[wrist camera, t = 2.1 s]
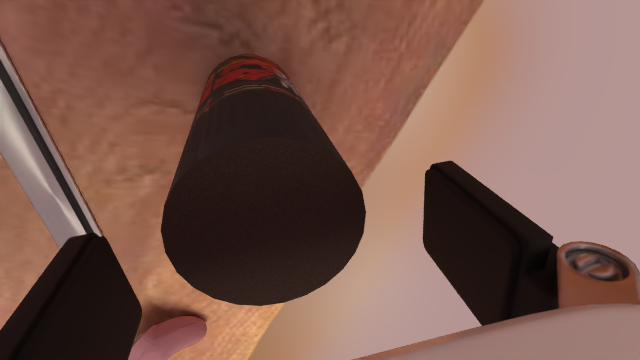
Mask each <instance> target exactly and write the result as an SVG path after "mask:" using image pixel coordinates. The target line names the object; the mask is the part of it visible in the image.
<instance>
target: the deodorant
mask: <svg viewBox="0 0 640 360" xmlns="http://www.w3.org/2000/svg"><path fill="white" fill-rule="evenodd" d="M365 215H366V210H365V205H364V199H363V193H362V190H361V188H360V187H359V185H358V183H357V181H356V179H355V177H354V175H353V174H352V172H351V170H350V169H349V167H348V166H347V164H346V163H345V161H344V160H343V158H342V157H341V155H340V154H339V152H338V151H337V149H336V148H335V146H334V145H333V143H332V142H331V141H330V139H329V138H328V136H327V135H326V133H325V132H324V130H323V129H322V127H321V126H320V124H319V123H318V121H317V120H316V118H315V117H314V115H313V114H312V112H311V111H310V109H309V108H308V106H307V105H306V103H305V102H304V100H303V99H302V97H301V96H300V94H299V93H298V91H297V90H296V88H295V87H294V85H293V84H292V82H291V81H290V79H289V78H288V76H287V75H286V73H285V72H284V71H283V70H282V69H281V68H280V67H279V66H278V65H277V64H275V63H274V62H272V61H270V60H269V59H267V58H264V57H261V56H257V55H238V56H235V57H231V58H229V59H227V60H225V61H224V62H222V63H220V64H219V65H218V66H217V67H216V68H215V69H214V71H213V72H212V73H211V75H210V77H209V79H208V81H207V83H206V85H205V88H204V91H203V94H202V97H201V100H200V103H199V106H198V109H197V112H196V114H195V117H194V120H193V123H192V126H191V129H190V132H189V135H188V138H187V141H186V144H185V147H184V150H183V152H182V155H181V158H180V161H179V164H178V167H177V170H176V173H175V176H174V179H173V182H172V185H171V188H170V191H169V193H168V196H167V199H166V202H165V205H164V211H163V218H162V225H161V233H162V238H163V243H164V248H165V253H166V255H167V256H168V258H169V260H170V261H171V263H172V265H173V266H174V268H175V270H176V271H177V273H178V274H179V275H181V276H182V277H183V278H184V279H185V280H186V281H187V282H188V283H189V284H190V285H191V286H192V287H194V288H195V289H197V290H199V291H201V292H203V293H205V294H207V295H209V296H210V297H212V298H214V299H218V300H222V301H226V302H229V303H233V304H237V305H256V306H263V305H270V304H277V303H284V302H287V301H290V300H293V299H295V298H299V297H302V296H305V295H307V294H309V293H311V292H312V291H314V290H316V289H318V288H320V287H321V286H323V285H325V284H326V283H327V282H329V281H330V280H331V279H332V278H333V277H334V276H336V275H337V274H338V273H339V272H340V271H341V270H342V269H343V268H344V267H345V266H346V264H347V263H348V262H349V260H350V259H351V258H352V256H353V255H354V254H355V252H356V250H357V247H358V245H359V242H360V240H361V238H362V235H363V233H364V224H365Z"/></svg>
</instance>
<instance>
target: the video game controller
mask: <svg viewBox="0 0 640 360" xmlns="http://www.w3.org/2000/svg"><path fill="white" fill-rule="evenodd" d="M206 331H207V326H206V324H205V322H204V321H203V320H202V319H200V318H197V317H193V316H180V317H176V318H172V319H170V320H167V321H164V322H162V323H160V324H158V325H153V326H152V327H150V328H149V329H148V330H147V331H146V332H145V333H143V334H141V335H139V336H137V334H138V332H137V333H136V336H137V337H136V336H135V340H134V343H133V346H132V349H131V352H130V355H129V358H128V360H167V359H168V358H169V357H170V356H171V355H173V354H175V353H176V352H178V351H180V350H182V349H184V348H186V347H188V346H191V345H193V344H195V343H197V342H198V341H200V340H201V339H202V338H203V337H204V336H205V334H206Z"/></svg>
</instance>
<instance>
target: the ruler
mask: <svg viewBox="0 0 640 360" xmlns="http://www.w3.org/2000/svg"><path fill="white" fill-rule="evenodd" d="M0 153H1V154H2V156H3V158H4V159H5V161H6V163H7V164H8V166H9V167H10V169H11V171H12V172H13V174H14V175H15V177H16V179H17V180H18V182H19V184H20V185H21V187H22V188H23V190H24V192H25V193H26V195H27V196H28V198H29V200H30V201H31V203H32V205H33V206H34V208H35V209H36V211H37V213H38V214H39V216H40V217H41V219H42V221H43V222H44V224H45V226H46V227H47V229H48V230H49V232H50V234H51V235H52V237H53V238H54V240H55V242H56V243H57V245H58V247H59V248H60V249H61V248H62V246H63V245H64V243H65V242H66V241H67V240H68V239H69V238H70V237H74V236H79V235H84V234H89V233H96V234H97V235H99V237H100V236H103V234H102V233H101V231H100V229H99V227H98V225H97V223H96V221H95V219H94V217H93V216H92V214H91V212H90V210H89V208H88V206H87V204H86V202H85V200H84V198H83V197H82V195H81V193H80V191H79V189H78V187H77V185H76V183H75V181H74V180H73V178H72V176H71V174H70V172H69V170H68V168H67V166H66V164H65V162H64V161H63V159H62V157H61V155H60V153H59V151H58V149H57V147H56V145H55V143H54V142H53V140H52V138H51V136H50V134H49V132H48V130H47V128H46V126H45V125H44V123H43V121H42V119H41V117H40V115H39V113H38V111H37V109H36V107H35V106H34V104H33V102H32V100H31V98H30V96H29V94H28V92H27V90H26V89H25V87H24V85H23V83H22V81H21V79H20V77H19V75H18V73H17V71H16V70H15V68H14V66H13V64H12V62H11V60H10V58H9V56H8V54H7V53H6V51H5V49H4V47H3V45H2V43H1V41H0ZM103 237H104V236H103Z"/></svg>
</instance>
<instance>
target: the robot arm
mask: <svg viewBox="0 0 640 360" xmlns="http://www.w3.org/2000/svg"><path fill="white" fill-rule="evenodd" d="M423 223H424V224H423V243H424V247H425V249H426V251H427V253H428V254H429V255H430V257H431V258H432V259H433V261H434V262H435V263H436V265H437V266H438V267H439V269H440V270H441V271H442V273H443V274H444V275H445V276H446V278H447V279H448V281H449V282H450V283H451V285H452V286H453V287H454V289H455V290H456V291H457V293H458V294H459V295H460V297H461V298H462V299H463V301H464V302H465V303H466V305H467V306H468V308H469V309H470V310H471V312H472V313H473V314H474V316H475V317H476V318H477V320H478V321H479V322H480V324H481V325H482V326H480V327H476V328H472V329H468V330H464V331H460V332H456V333H453V334H449V335H445V336H441V337H437V338H434V339H430V340H426V341H422V342H418V343H414V344H411V345H407V346H403V347H399V348H395V349H392V350H388V351H384V352H380V353H376V354H372V355H369V356H365V357H361V358H357V359H353V360H640V272H639V270H638V269H637V267H636V265H635V264H634V263H633V262H632V261H631V260H630V259H629V258H628V257H626V256H625V255H623V254H621V253H620V252H618V251H616V250H613V249H611V248H609V247H606V246H603V245H600V244H596V243H590V242H581V241H580V242H570V243H567V244H564V245H562V246H561V247H560V248H559V247H557V246H556V245H555V244H553V243H552V240H553V236H551V235H550V234H549V233H547V232H546V231H545V230H543V229H542V228H541V227H539V226H538V225H537V224H535V223H534V222H533V221H531V220H530V219H529V218H527V217H526V216H525V215H523V214H522V213H521V212H519V211H518V210H517V209H515V208H514V207H513V206H511V205H510V204H509V203H507V202H506V201H505V200H503V199H502V198H501V197H499V196H498V195H497V194H495V193H494V192H493V191H491V190H490V189H489V188H487V187H486V186H485V185H483V184H482V183H481V182H479V181H478V180H477V179H475V178H474V177H473V176H471V175H470V174H469V173H467V172H466V171H465V170H463V169H462V168H461V167H459V166H458V165H457V164H455V163H454V162H453V161H446V162H440V163H436V164H432V165H431V167H430V169H429V170H427V171H426V173H425V191H424V221H423ZM141 317H142V308H141V305H140V303H139V301H138V299H137V297H136V295H135V293H134V291H133V289H132V287H131V285H130V283H129V281H128V279H127V277H126V275H125V274H124V272H123V270H122V268H121V266H120V264H119V262H118V260H117V258H116V256H115V254H114V252H113V250H112V248H111V246H110V244H109V243H108V241H107V239H106V238H105V237H103V236H100V237H99V235H97V234H96V233H89V234H84V235H79V236H74V237H70V238H69V239H68V240H67V241H66V242H65V243H64V245H63V246H62V248H61V249H60V250H59V252H58V253H57V254H56V256H55V257H54V258H53V260H52V261H51V262H50V264H49V265H48V266H47V268H46V269H45V271H44V272H43V273H42V275H41V276H40V277H39V279H38V280H37V281H36V283H35V284H34V285H33V287H32V288H31V290H30V291H29V292H28V294H27V295H26V296H25V298H24V299H23V300H22V302H21V303H20V304H19V306H18V307H17V309H16V310H15V311H14V313H13V314H12V315H11V317H10V318H9V319H8V321H7V322H6V323H5V325H4V326H3V327H2V329H1V330H0V360H128V358H129V355H130V352H131V349H132V346H133V343H134V340H135V336H136V333H137V330H138V327H139V324H140V321H141Z"/></svg>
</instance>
